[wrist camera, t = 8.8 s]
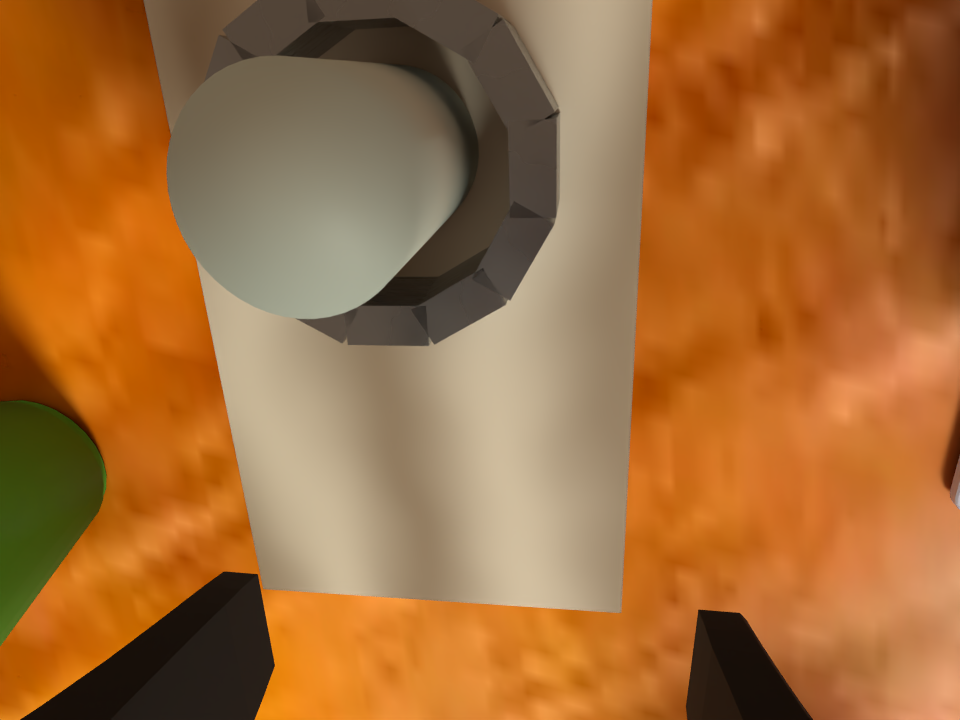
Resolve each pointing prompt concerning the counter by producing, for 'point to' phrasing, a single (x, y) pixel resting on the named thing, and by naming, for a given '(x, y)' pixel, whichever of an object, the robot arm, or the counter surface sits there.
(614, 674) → the counter surface
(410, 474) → the peg holder
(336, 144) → the gray peg
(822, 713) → the counter surface
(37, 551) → the cup
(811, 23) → the counter surface
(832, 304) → the counter surface
